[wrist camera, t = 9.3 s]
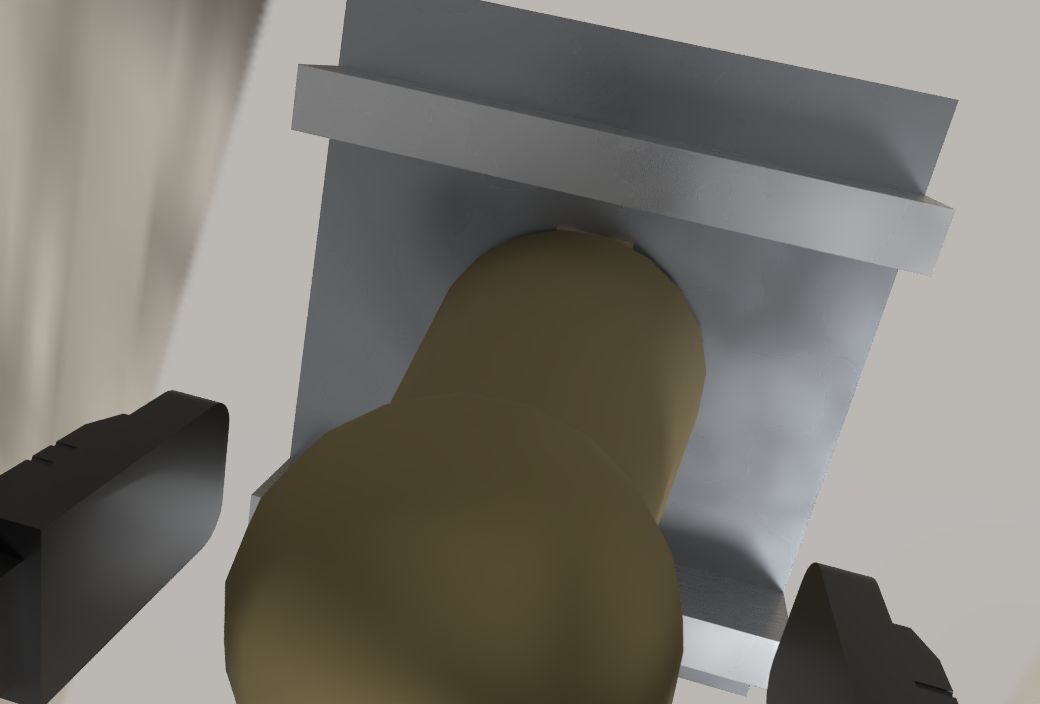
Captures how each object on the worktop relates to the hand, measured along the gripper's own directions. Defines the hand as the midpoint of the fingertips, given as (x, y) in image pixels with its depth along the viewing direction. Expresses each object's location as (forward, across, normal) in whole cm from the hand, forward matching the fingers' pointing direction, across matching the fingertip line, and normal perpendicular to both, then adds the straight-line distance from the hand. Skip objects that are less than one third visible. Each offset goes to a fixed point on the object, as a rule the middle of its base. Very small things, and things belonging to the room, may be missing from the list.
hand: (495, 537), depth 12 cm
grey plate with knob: (+12, 0, 0) cm, 12 cm away
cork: (+8, 0, 0) cm, 8 cm away
